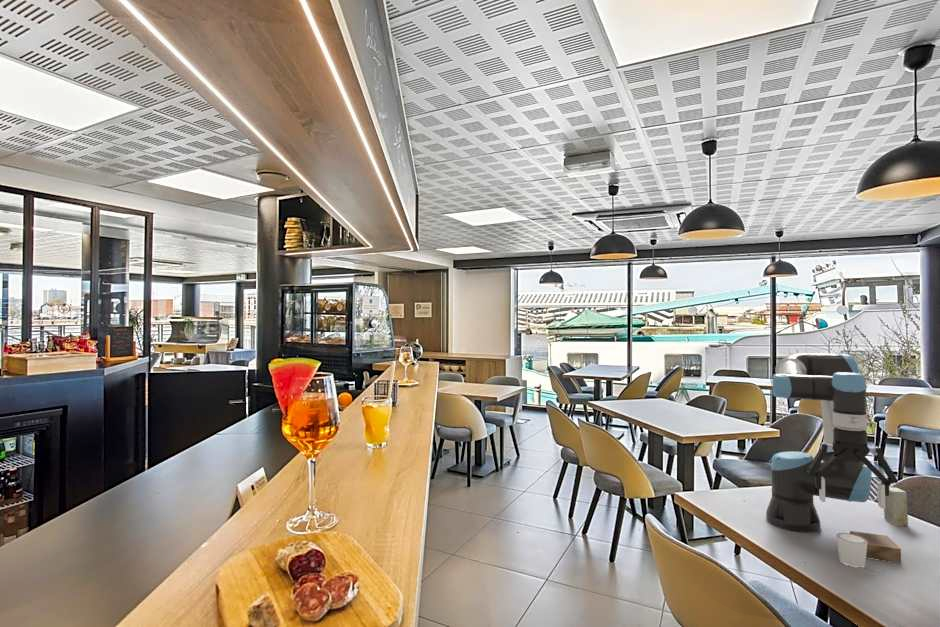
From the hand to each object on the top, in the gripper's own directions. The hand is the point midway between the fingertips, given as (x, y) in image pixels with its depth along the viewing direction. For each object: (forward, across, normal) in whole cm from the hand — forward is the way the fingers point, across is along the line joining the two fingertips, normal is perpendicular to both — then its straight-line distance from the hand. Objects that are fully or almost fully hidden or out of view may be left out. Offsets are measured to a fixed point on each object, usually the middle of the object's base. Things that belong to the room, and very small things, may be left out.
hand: (851, 503), depth 135 cm
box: (+17, +23, +38) cm, 47 cm away
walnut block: (+16, +8, +9) cm, 20 cm away
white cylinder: (+17, 0, 0) cm, 17 cm away
